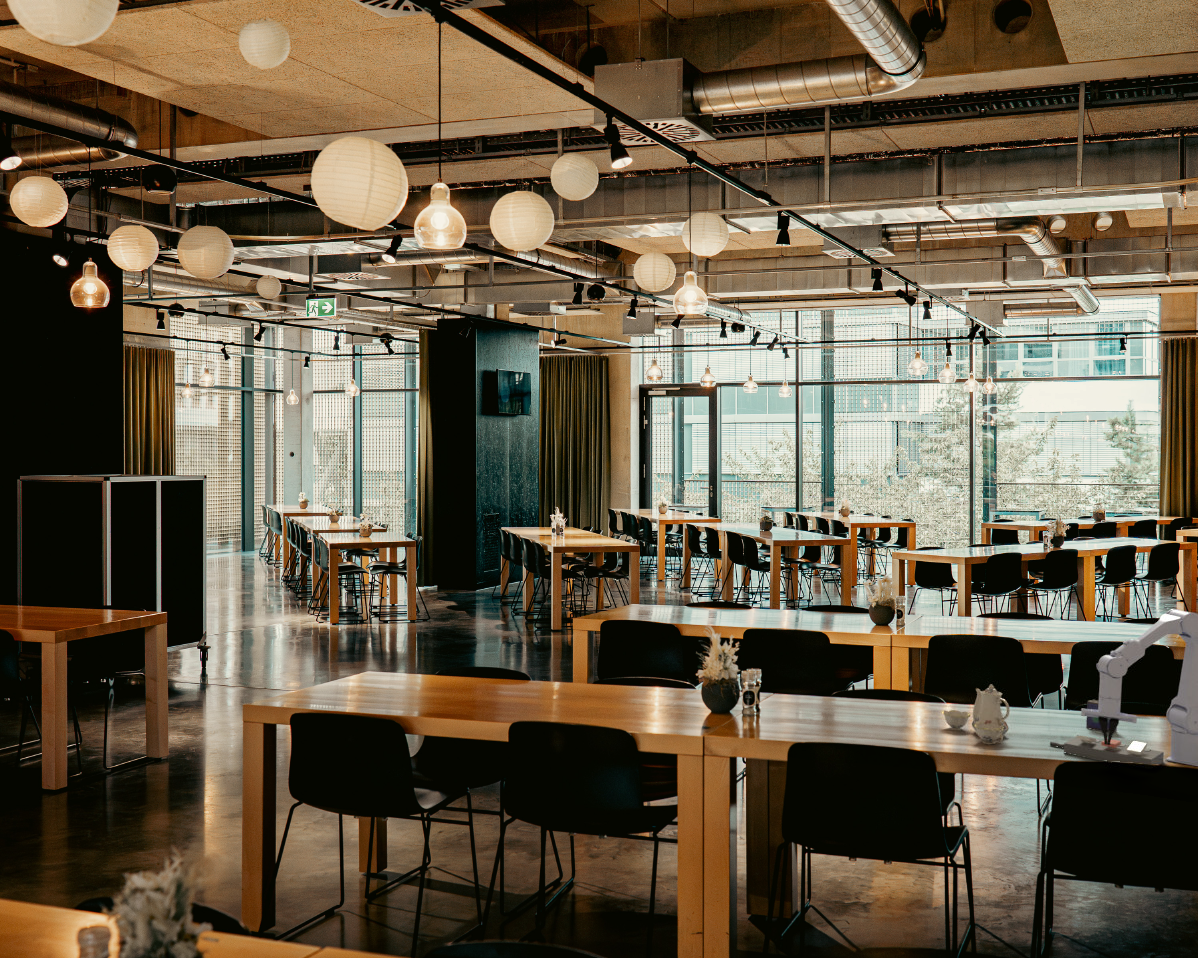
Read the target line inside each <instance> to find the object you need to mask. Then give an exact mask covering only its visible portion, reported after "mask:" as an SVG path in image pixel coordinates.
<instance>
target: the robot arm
mask: <svg viewBox="0 0 1198 958" xmlns="http://www.w3.org/2000/svg"><path fill="white" fill-rule="evenodd" d="M1167 635H1178V636H1179V637H1180V638H1181V639H1182V640H1183V641H1184V642H1185V648H1184V655H1183V658H1182V659H1183V661H1182V667H1181V673H1180V680H1179V685H1178V692H1177V695H1176V696H1175V697H1174V698H1173V699H1171V703H1170V706H1169V708H1167V711H1166V716H1165V717H1166V719H1167V722H1168V723H1169V724H1170V728H1171V729H1170V756H1168V757H1166V758H1165V761H1168V762H1173V763H1178V764H1185V765H1189V766H1195V767H1198V613H1196V612H1190V611H1187V610H1186V611H1185V610H1181V609H1179V608H1171V609H1169V610H1168V611H1166V613H1164V614H1162V615H1161V616H1160V617H1159V619H1158V621H1157V622H1155V623H1154V624H1153V625H1151V627H1149V628H1148V629H1147V630H1146V631H1145V632H1144V633H1142V634H1141V635H1140V636H1139V637H1137V639H1131V638H1130V639H1128V640H1127V639H1125V640H1124V641H1123V642H1122V643H1123V644H1122V645H1120V646H1119V647H1117V648H1116V649H1115V650H1111V651H1110V654H1105V655H1103V656H1101V657H1100V658H1099V660H1098V663H1096V669H1097V670H1098V672H1099V692H1098V701H1099V706H1098V710H1094V709H1087V708H1081V711H1080V712H1081V713H1080V716H1081V717H1087V716H1089V717H1096V718H1098V721H1099V724H1100V726H1101V729H1102V731H1101V732H1102V737H1103V741H1104V744H1106V745H1110V742H1111V740H1112V738H1113V735H1114V731H1115V729H1116V728H1117V729H1118V726H1119V725H1120V721H1121V722H1125V723H1126V722H1127V723H1132V724H1137V719H1138V718H1137V715H1135V714H1128V713H1124V712H1121V703H1122V702H1121V701H1122V684H1123V676H1125V675H1126V674H1127V672H1128V668H1129V667H1131V666H1132V665H1133V664H1134V663H1136V662H1137V661H1138V660H1139V659H1141V658H1143V657H1144V656H1145V654H1146V653H1145V652H1146V649H1147V648H1149V647H1150V646H1152V645H1153V644H1155V643H1156V642H1158V641H1160V640H1161V639H1163V638H1164V637H1166V636H1167ZM1104 716H1106V717H1104ZM1111 717H1114V718H1111ZM1108 719H1110V720H1109V732H1107V726H1108ZM1107 739H1108V741H1107Z"/></svg>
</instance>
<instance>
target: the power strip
mask: <svg viewBox="0 0 1198 958" xmlns="http://www.w3.org/2000/svg"><path fill="white" fill-rule="evenodd" d="M1102 741H1103V740H1100V739H1096V742H1091V743H1086V742H1081V739H1077V736H1076V737H1074V738H1072V739H1070V740H1068V741H1066V742H1063V743H1058V742H1054V741H1050V742H1049V746H1050V745H1052V746H1051V747H1054V746H1058V747H1057V748H1059V747H1063V748H1062V749H1063V753H1064V752H1066V753H1071V754H1076V755H1079V756H1078V757H1081V756H1085V757H1084V758H1086V757H1087V759H1091V758H1092V760H1095V761H1096V760H1098V761H1101V760H1107V761H1120V762H1133V763H1142V764H1160V765H1161V764H1163V763H1164V759H1165V758H1164V754H1165V753H1164V751H1160V750H1155V749H1150V748H1147V747H1146V748H1145V750H1144V751H1143V753H1142V754H1141V755H1137V754H1132V753H1127V749H1128V747H1129V746H1130V745H1128V744H1124V743H1121V745H1119V746H1117V748H1112V747H1107V746H1102V745H1101V743H1102ZM1076 755H1075V756H1076ZM1107 761H1106V762H1107Z"/></svg>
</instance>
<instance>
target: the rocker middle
mask: <svg viewBox="0 0 1198 958" xmlns="http://www.w3.org/2000/svg"><path fill="white" fill-rule="evenodd" d="M1101 741H1102V743H1101V745H1102V746H1107V747H1112V748H1117V746H1119V745H1121V744H1122V741H1121V740H1116V739H1111V742H1110V745H1106V744H1104V740H1101ZM1107 741H1108V738H1107Z"/></svg>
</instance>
